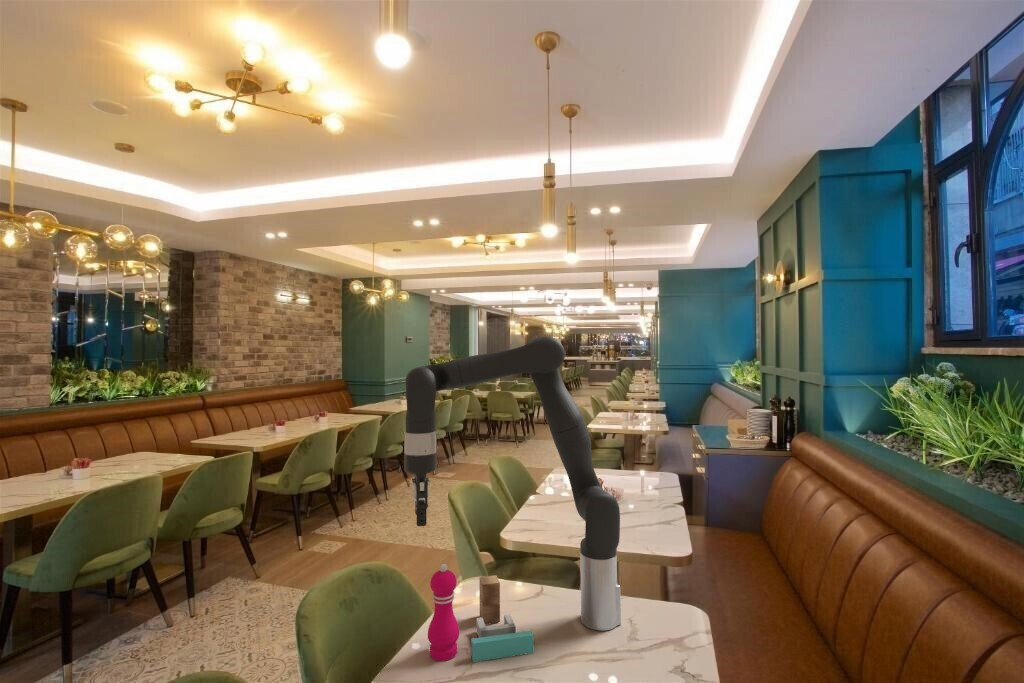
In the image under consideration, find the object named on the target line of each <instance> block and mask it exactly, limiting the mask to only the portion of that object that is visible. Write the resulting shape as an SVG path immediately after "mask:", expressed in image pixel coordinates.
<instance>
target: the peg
mask: <svg viewBox="0 0 1024 683" xmlns="http://www.w3.org/2000/svg"><path fill="white" fill-rule="evenodd" d="M500 584H501V582H500V580H499V578H498V576H497V574H495V575H487V576H485V575H484V576H479V618H483V621H484V623H485V625H490V624H489V623H493V624H499V623H498V622H500V623H501V590H500V589H501V587H500Z"/></svg>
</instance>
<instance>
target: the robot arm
mask: <svg viewBox="0 0 1024 683" xmlns="http://www.w3.org/2000/svg"><path fill="white" fill-rule="evenodd" d="M565 357H566V352H565V348H564V345H563V344H562V343H561V342H560V341H559V340H558V339H556V338H555V337H552V336H547V335H546V336H545V335H544V336H537V337H534V338H531V339H530V340H528V341H527V342H526V343H525V344H524V345H522V346H518V347H516V348H511V349H507V350H502V351H496V352H489V353H482V354H475V355H469V356H464V357H460V358H456V359H452V360H447V361H445V362H442V363H441V362H440V363H435V364H429V365H423V366H416V367H414V368H412V369H410V371H408V373H407V374H406V375H405V381H404V383H405V392H406V412H405V435H404V451H403V452H404V457H403V458H404V462H403V463H404V468H403V469H404V471H405V473H407V474H414V477H412V478H411V486H412V493H413V500H414V509H415V510H414V511H415V512H414V513H415V515H416V526H417V527H425V526H427V524H428V523H427V510H428V508H429V504H428V500H429V499H430V497H429V496H430V490H429V488H430V485H431V484H430V479H429V477H427V474H428V473H429V474H431V473H433V472H435V471H436V470H437V466H438V464H437V463H438V462H437V435H436V410H435V408H436V397H437V392H439V391H444V390H448V389H451V390H453V389H459V388H460V389H461V388H465V387H468V386H473V385H474V386H475V385H478V384H481V383H485V382H489V381H492V380H495V379H501V378H505V377H510V376H514V375H520V374H527V373H528V374H529V375H530V378H531V380H532V381H533V384H534V386H535V388H536V390H537V393H538V395H539V399H540V401H541V406H542V409H543V413H544V415H545V419H546V421H547V425H548V427H549V431H550V434H551V436H552V439H553V440H552V441H554V442H553V443H554V445H555V447H556V450H557V452H558V455H559V457H560V460H561V464H563V467H564V469H565V472H566V473H567V474H566V475H567V476H568V479H569V480H568V481H569V484H570V488H571V492H572V495H573V501H574V504H575V508H576V511H577V514H578V515H579V517H580V518H581V519H582V520H583V521H584V522H585V526H584V528H585V529H584V530H585V531H584V532H585V534H584V535H585V536H584V538H582V539H581V541H580V543H579V547H580V549H579V550H580V553H579V556H580V558H579V560H580V619H581V624H582V625H584V627H586V628H589V629H591V630H594V631H609V630H613V629H614V628H616V627H617V626H620V625H622V608H621V606H622V604H621V602H622V600H621V595H622V594H621V586H620V584H619V583H618V560H617V559H618V558H617V557H618V555H617V554H618V553H617V551H618V550H617V549H618V547H619V544H620V539H621V538H620V536H621V535H620V534H621V532H620V531H621V511H620V504H619V503H618V502H619V501H617V499H616V498H615V497H614V495H612V494H611V493H609V492H607V491H606V490H604V489H603V487H602V485H601V483H600V480H599V478H598V476H597V474H596V471H595V468H594V466H593V465H594V464H593V456H592V441H591V436H590V433H589V429H588V426H587V424H586V421H585V419H584V417H583V414H582V411H581V410H580V408H579V406H578V404H577V403H576V402H575V400H574V398H573V397H572V395H571V393H570V392H569V390H568V389H567V388H566V385H565V384H564V380H563V379H562V378H563V377H562V375H561V372H560V369H559V368H560V367H561V366H562V364H563V363H564V360H565Z"/></svg>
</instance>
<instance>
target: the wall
mask: <svg viewBox="0 0 1024 683" xmlns="http://www.w3.org/2000/svg"><path fill="white" fill-rule="evenodd" d="M534 639H535V638H534V634H533V631H532V630H526V631H519V632H518V631H517V632H516V633H509V634H502V635H495V636H487V637H480V638H479V637H475V638H471V660H472V662H473V663H475V662H476V661H477V662H482V661H481V660H483V661H489V660H488V659H490V660H495V658H497V659H502V657H504V658H508V657H507V656H510V657H514V656H513V655H517V656H520V655H519V654H524V655H526V654H525V653H530V654H534V653H533V652H535V651H534V647H535V645H534V644H535V643H534Z"/></svg>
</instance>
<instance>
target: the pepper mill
mask: <svg viewBox="0 0 1024 683" xmlns="http://www.w3.org/2000/svg"><path fill="white" fill-rule="evenodd" d="M457 583H458V582H457V576H456V574H455V573H454V572H453V571H451V570H449V569H448V565H447V564H446V563H441V565H440V566H439V570H437V571H435V573H434V574H432V576H431V578H430V583H429V585H430V590H431V591H432V601H433V602H434V612H433V616H432V619H431V621H430V623H429V626H428V630H427V640H428V642H429V643H430V645H429V655H430V658H432V660H434V661H439V662H444V661H445V662H446V661H448V660H451V659H453V658H454V657H456V655H457V653H458V643H457V641H458V639H459V638H460V627H459V623H458V621H457V618H456V617H455V613H454V610H453V608H454V607H453V603H454V602H453V601H454V600H455V591H454V590H455V589H456V588H457Z"/></svg>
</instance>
